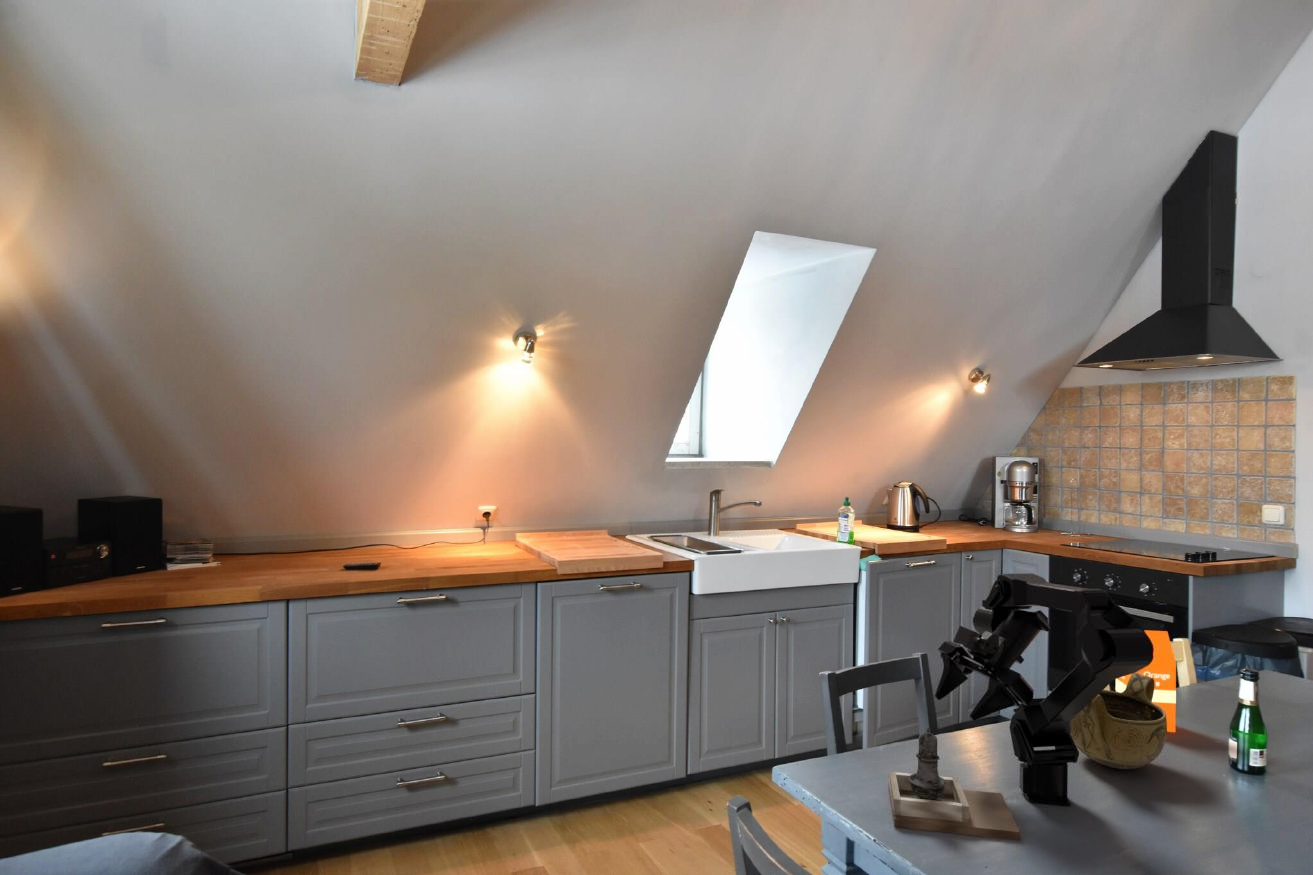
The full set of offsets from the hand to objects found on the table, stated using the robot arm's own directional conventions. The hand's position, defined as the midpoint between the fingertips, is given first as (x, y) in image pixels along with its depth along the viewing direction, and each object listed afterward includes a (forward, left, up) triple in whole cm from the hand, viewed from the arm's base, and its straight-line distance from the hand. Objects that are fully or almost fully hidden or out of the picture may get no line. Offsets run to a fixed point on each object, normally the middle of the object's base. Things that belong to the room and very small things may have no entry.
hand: (953, 708), depth 142 cm
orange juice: (-44, -43, -13) cm, 63 cm away
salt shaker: (+5, +11, -12) cm, 18 cm away
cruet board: (+2, +12, -13) cm, 18 cm away
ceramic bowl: (-30, -18, -13) cm, 38 cm away
